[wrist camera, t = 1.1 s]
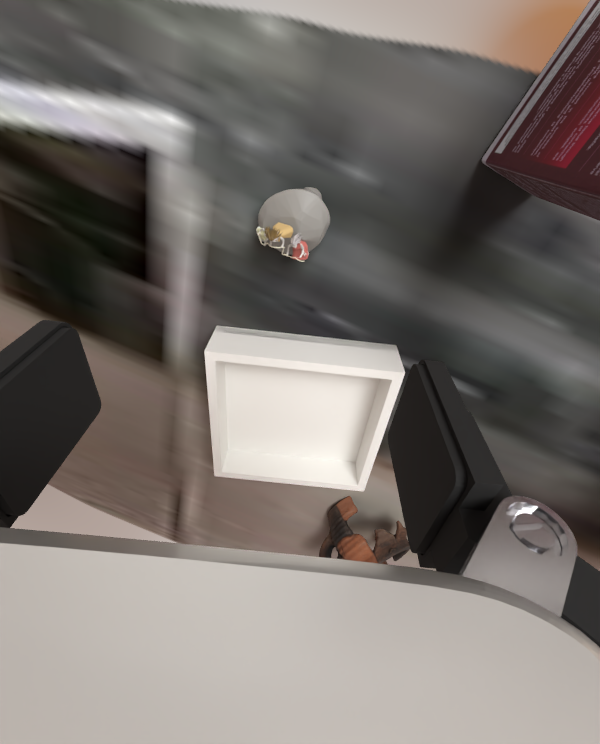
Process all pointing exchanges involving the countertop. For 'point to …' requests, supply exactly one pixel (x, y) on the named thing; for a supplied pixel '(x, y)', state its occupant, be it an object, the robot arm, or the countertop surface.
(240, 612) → the robot arm
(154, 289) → the countertop surface
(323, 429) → the bin
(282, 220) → the figurine
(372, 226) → the countertop surface
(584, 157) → the supplement box
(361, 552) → the brown two-tone ridged part
